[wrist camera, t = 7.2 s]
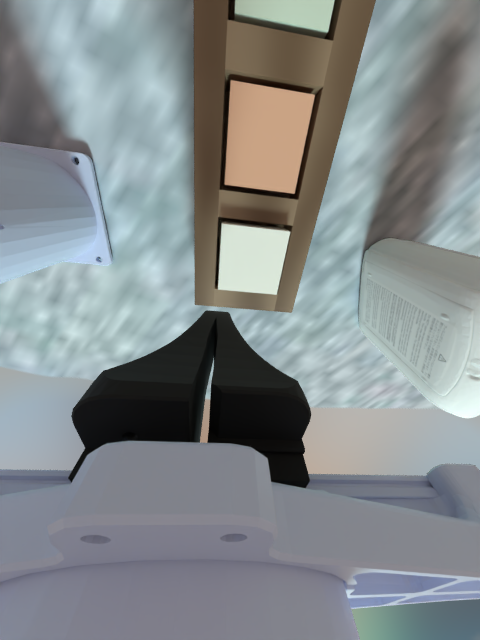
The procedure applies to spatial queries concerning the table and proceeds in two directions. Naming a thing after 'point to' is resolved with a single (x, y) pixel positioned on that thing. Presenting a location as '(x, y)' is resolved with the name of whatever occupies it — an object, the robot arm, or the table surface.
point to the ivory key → (251, 257)
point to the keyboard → (212, 129)
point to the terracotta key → (266, 137)
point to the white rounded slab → (426, 318)
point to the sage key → (287, 15)
